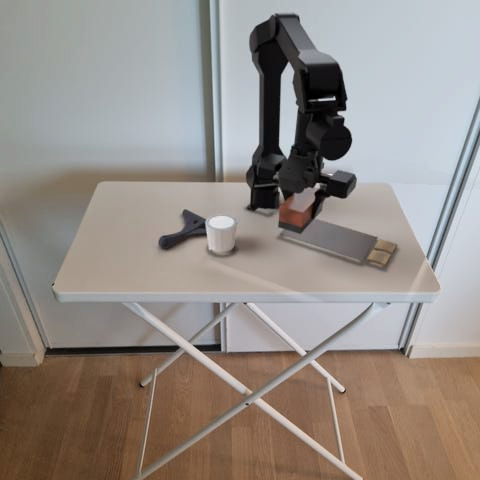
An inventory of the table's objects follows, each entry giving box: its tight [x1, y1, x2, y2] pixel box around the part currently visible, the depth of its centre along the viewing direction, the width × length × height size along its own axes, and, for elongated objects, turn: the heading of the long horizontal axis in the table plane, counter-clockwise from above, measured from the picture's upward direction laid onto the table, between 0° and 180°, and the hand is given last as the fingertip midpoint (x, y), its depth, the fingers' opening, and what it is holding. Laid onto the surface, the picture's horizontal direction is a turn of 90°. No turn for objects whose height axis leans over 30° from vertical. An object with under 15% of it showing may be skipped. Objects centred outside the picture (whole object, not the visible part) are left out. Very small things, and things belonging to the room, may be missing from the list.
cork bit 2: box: [366, 249, 391, 266], centre depth 101 cm, size 4×4×2 cm
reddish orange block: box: [277, 187, 324, 234], centre depth 94 cm, size 5×11×5 cm, turn 150°
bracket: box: [157, 208, 207, 250], centre depth 106 cm, size 14×15×3 cm
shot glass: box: [205, 213, 238, 253], centre depth 101 cm, size 7×7×7 cm
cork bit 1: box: [374, 238, 398, 255], centre depth 104 cm, size 4×4×2 cm
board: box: [279, 218, 378, 261], centre depth 107 cm, size 20×11×1 cm, turn 60°
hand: (300, 214), depth 95 cm, fingers closed on reddish orange block, 5 cm apart
